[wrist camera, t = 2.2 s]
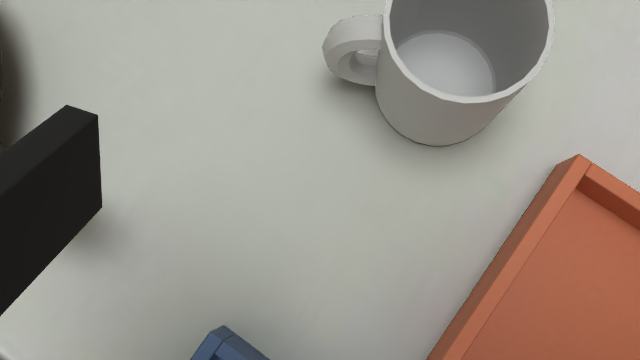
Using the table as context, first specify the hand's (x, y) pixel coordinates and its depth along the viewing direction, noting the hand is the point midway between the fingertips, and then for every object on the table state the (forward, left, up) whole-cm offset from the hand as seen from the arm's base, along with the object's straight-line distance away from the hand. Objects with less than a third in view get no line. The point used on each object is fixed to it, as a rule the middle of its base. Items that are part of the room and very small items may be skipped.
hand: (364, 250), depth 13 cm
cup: (+3, -10, -19) cm, 22 cm away
